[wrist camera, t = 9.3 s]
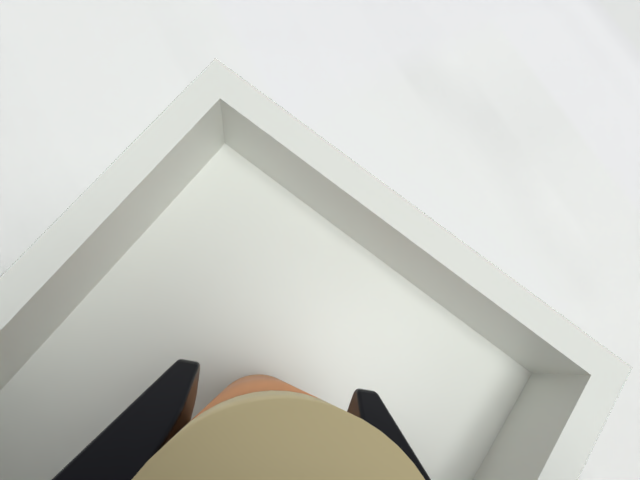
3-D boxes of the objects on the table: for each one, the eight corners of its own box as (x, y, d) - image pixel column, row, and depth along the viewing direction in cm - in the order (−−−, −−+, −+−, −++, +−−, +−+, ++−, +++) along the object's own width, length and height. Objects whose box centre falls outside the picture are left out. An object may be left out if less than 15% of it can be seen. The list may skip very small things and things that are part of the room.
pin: (221, 489, 15) (124, 923, 3) (198, 391, 15) (46, 467, 4) (315, 456, 15) (511, 725, 4) (289, 362, 16) (391, 355, 4)
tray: (304, 827, 14) (324, 997, 10) (-117, 484, 15) (-246, 526, 11) (553, 367, 19) (632, 367, 15) (222, 119, 19) (215, 58, 15)
